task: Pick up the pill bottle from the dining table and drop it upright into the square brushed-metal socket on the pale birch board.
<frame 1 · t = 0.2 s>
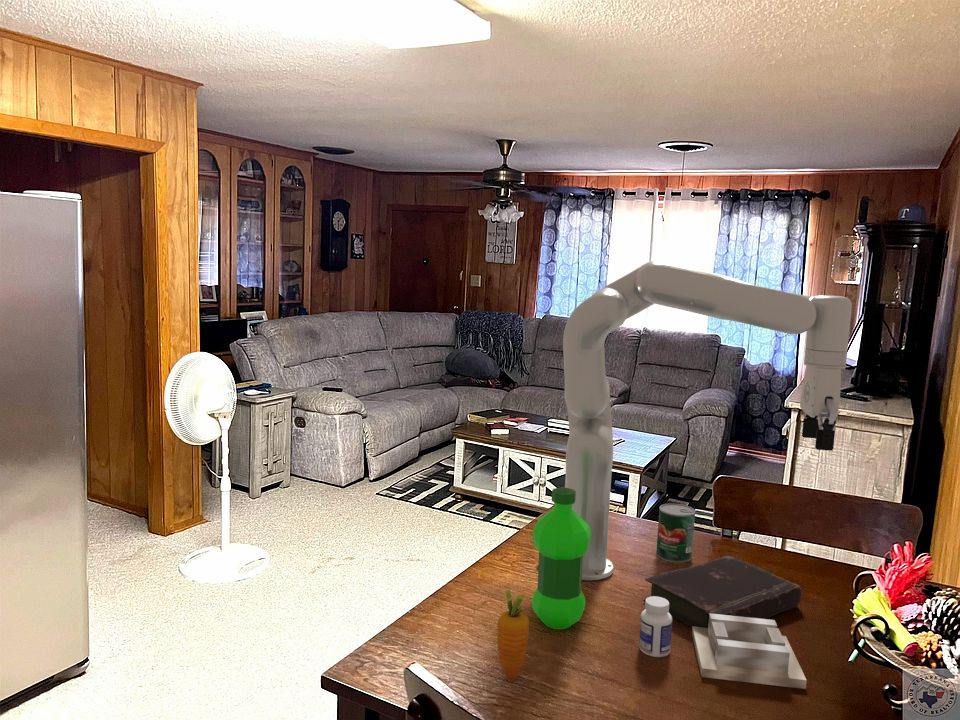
hand: (816, 443, 150), 31 cm above the table, tool pointing down, fingers open, 9 cm apart
socket board: (745, 659, 127), on the table
pill bottle: (654, 651, 129), on the table
diary: (720, 605, 147), on the table, touching socket board
canned tomato: (673, 556, 170), on the table
carrot: (511, 683, 118), on the table
plastic bottle: (557, 623, 138), on the table
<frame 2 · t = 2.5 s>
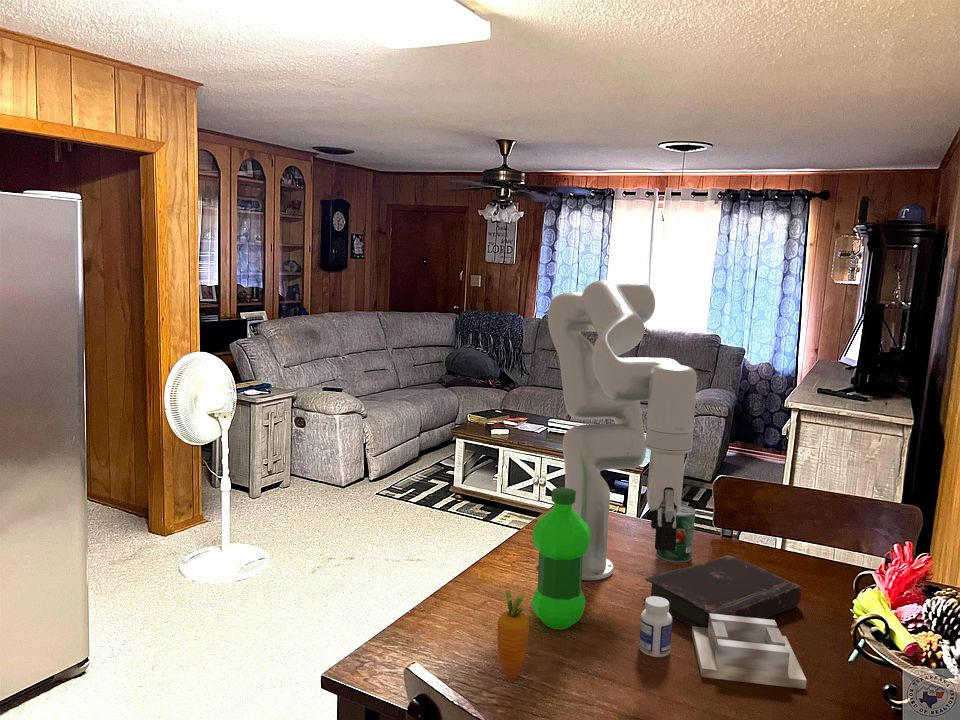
hand: (662, 538, 126), 20 cm above the table, tool pointing down, fingers open, 9 cm apart
nothing on the table moved.
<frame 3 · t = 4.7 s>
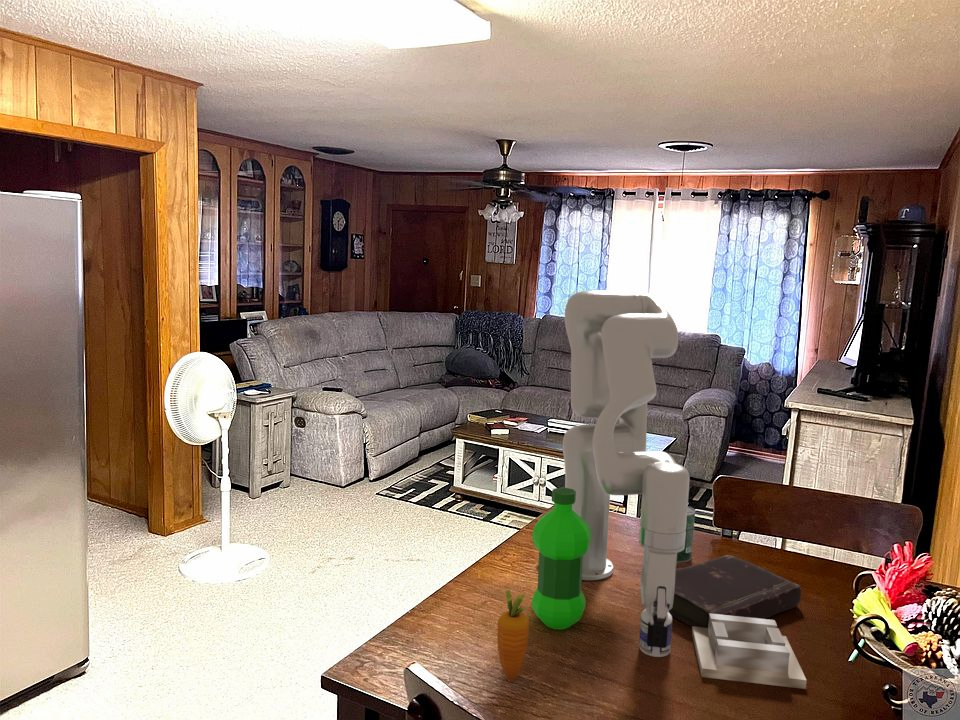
hand: (655, 636, 129), 2 cm above the table, tool pointing down, fingers closed on pill bottle, 5 cm apart
pill bottle: (654, 650, 129), on the table, touching gripper
everything else where it was.
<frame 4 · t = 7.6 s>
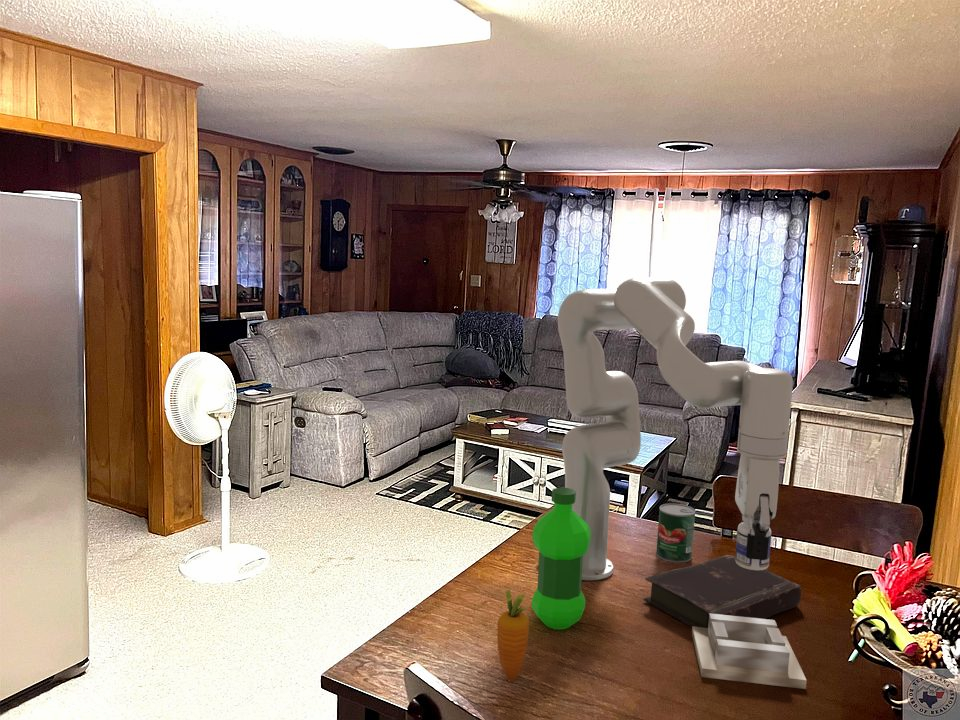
hand: (752, 550, 124), 19 cm above the table, tool pointing down, fingers closed on pill bottle, 5 cm apart
pill bottle: (751, 565, 125), point 17 cm above the table, touching gripper
diary: (720, 604, 147), on the table, touching socket board
everything else where it was.
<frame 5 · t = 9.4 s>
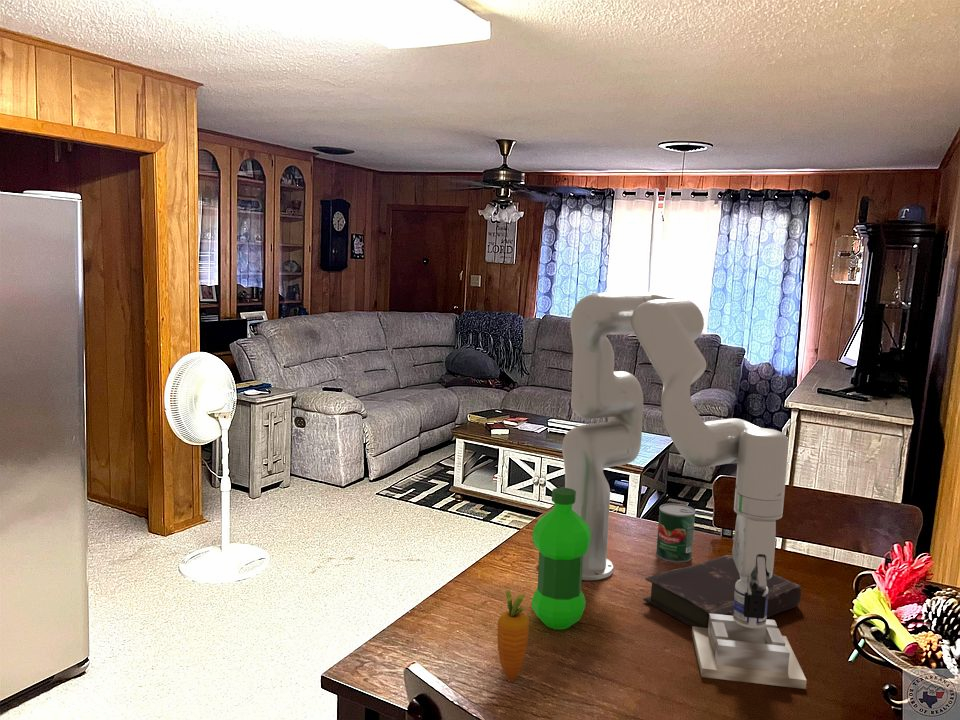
hand: (750, 607, 125), 9 cm above the table, tool pointing down, fingers closed on pill bottle, 5 cm apart
pill bottle: (748, 622, 126), point 7 cm above the table, touching gripper
diary: (720, 605, 147), on the table, touching socket board
everything else where it was.
when the fingers open (6 cm above the table, at t = 10.6 s): pill bottle drops 2 cm, resting on socket board.
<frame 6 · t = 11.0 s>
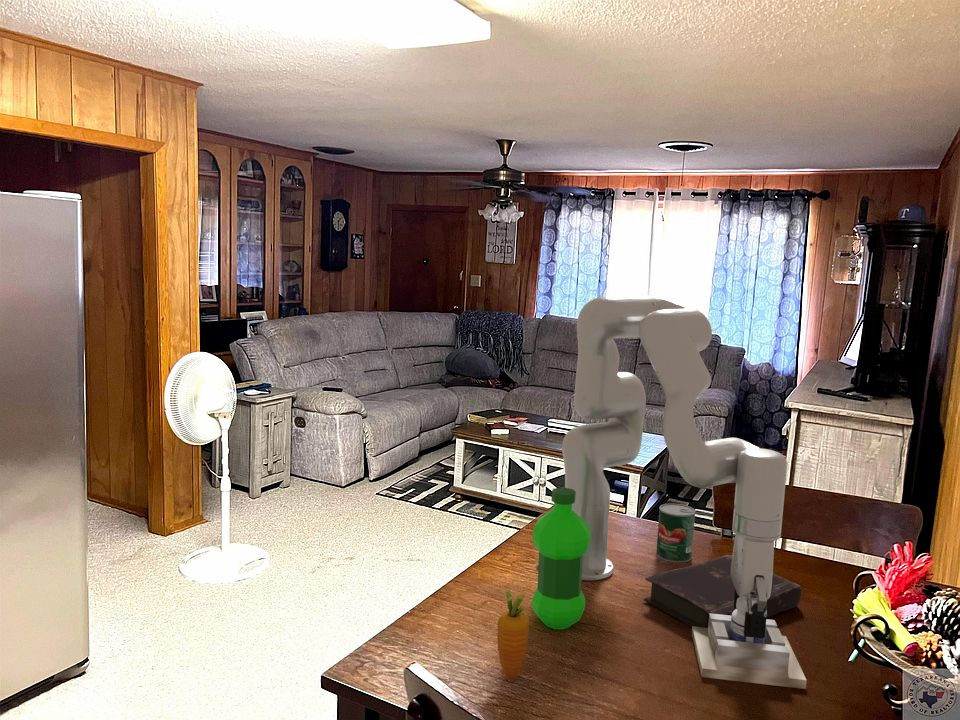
hand: (748, 622, 126), 7 cm above the table, tool pointing down, fingers open, 9 cm apart
pill bottle: (744, 652, 127), point 1 cm above the table, touching socket board
everything else where it was.
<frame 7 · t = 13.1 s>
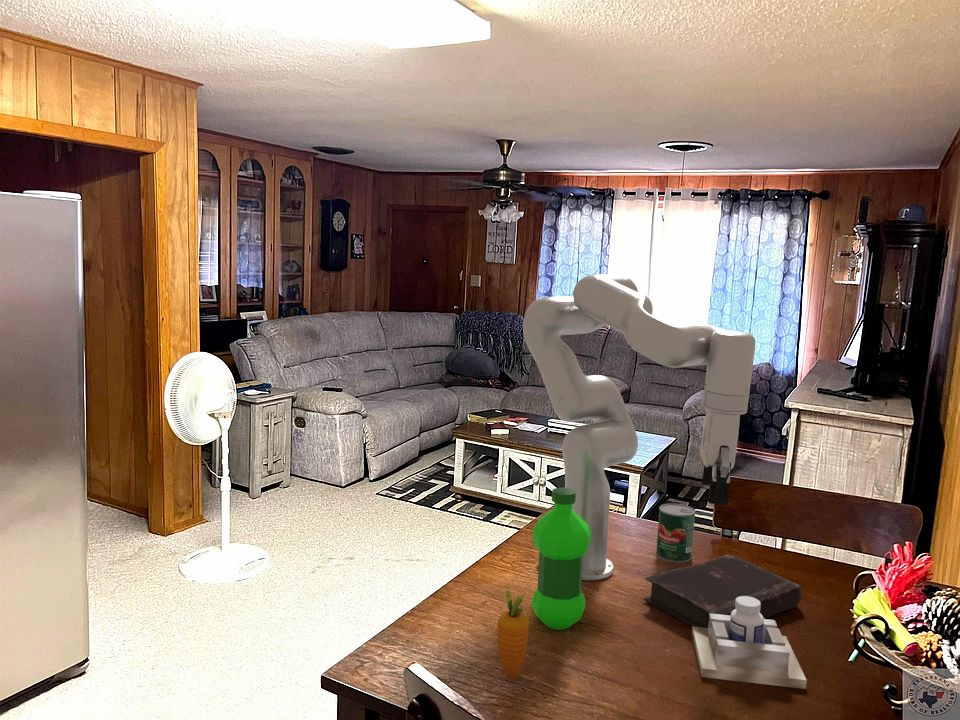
hand: (714, 494, 135), 25 cm above the table, tool pointing down, fingers open, 9 cm apart
diary: (720, 604, 147), on the table, touching socket board
everything else where it was.
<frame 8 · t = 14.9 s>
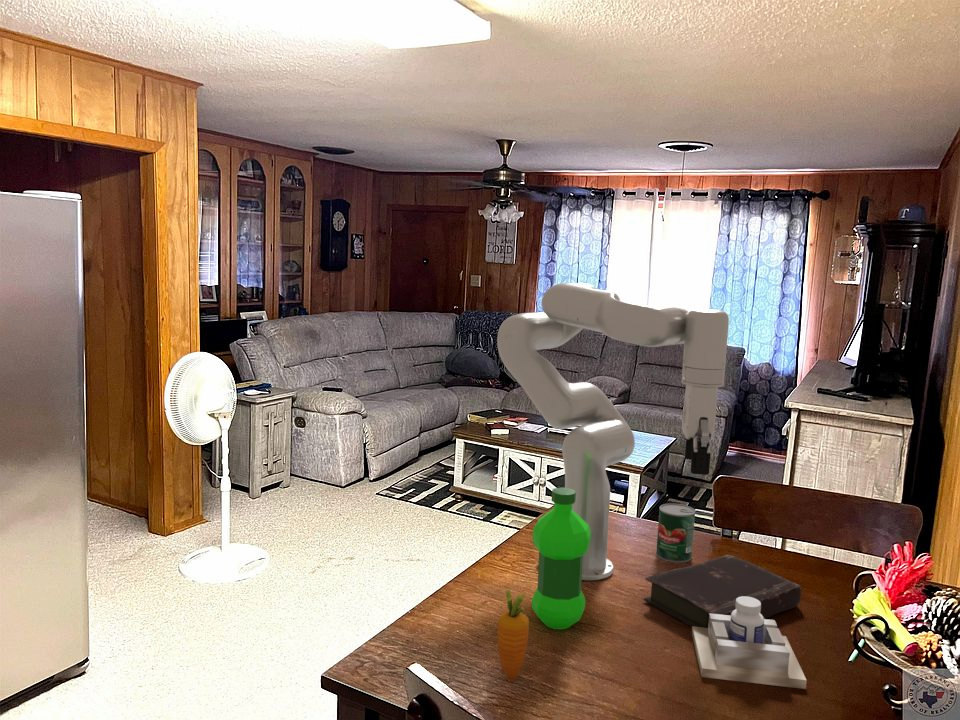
hand: (696, 466, 141), 28 cm above the table, tool pointing down, fingers open, 9 cm apart
nothing on the table moved.
at the end: pill bottle 0.1 cm off-centre on the socket board, point 1.3 cm above the socket board's base; pill bottle tilted 1°; the gripper is holding nothing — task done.
